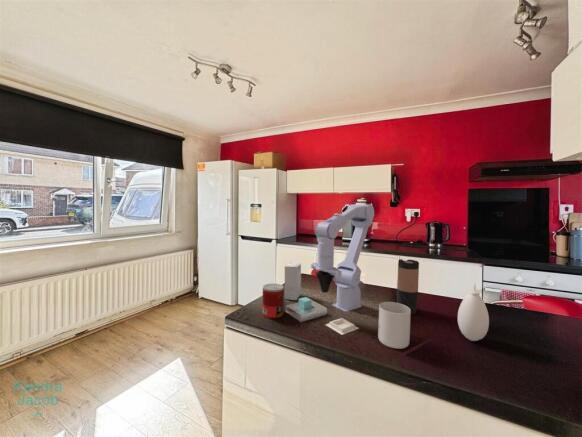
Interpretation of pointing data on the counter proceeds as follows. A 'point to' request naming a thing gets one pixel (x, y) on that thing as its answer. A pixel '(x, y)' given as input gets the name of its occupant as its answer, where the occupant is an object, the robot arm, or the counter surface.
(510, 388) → the counter surface
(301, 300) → the plug
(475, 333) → the sauce bottle
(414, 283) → the travel mug
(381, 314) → the mug
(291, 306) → the port panel
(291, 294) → the skincare box
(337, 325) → the white square dish
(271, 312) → the canned food
